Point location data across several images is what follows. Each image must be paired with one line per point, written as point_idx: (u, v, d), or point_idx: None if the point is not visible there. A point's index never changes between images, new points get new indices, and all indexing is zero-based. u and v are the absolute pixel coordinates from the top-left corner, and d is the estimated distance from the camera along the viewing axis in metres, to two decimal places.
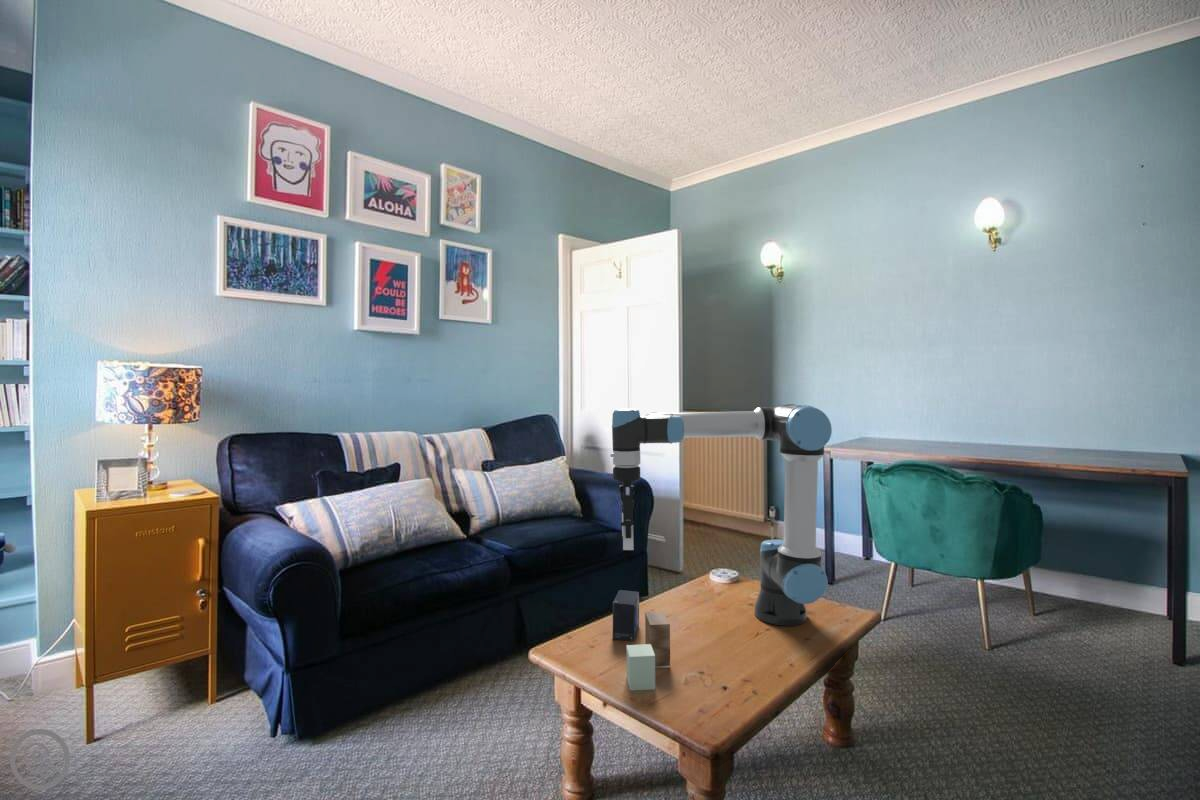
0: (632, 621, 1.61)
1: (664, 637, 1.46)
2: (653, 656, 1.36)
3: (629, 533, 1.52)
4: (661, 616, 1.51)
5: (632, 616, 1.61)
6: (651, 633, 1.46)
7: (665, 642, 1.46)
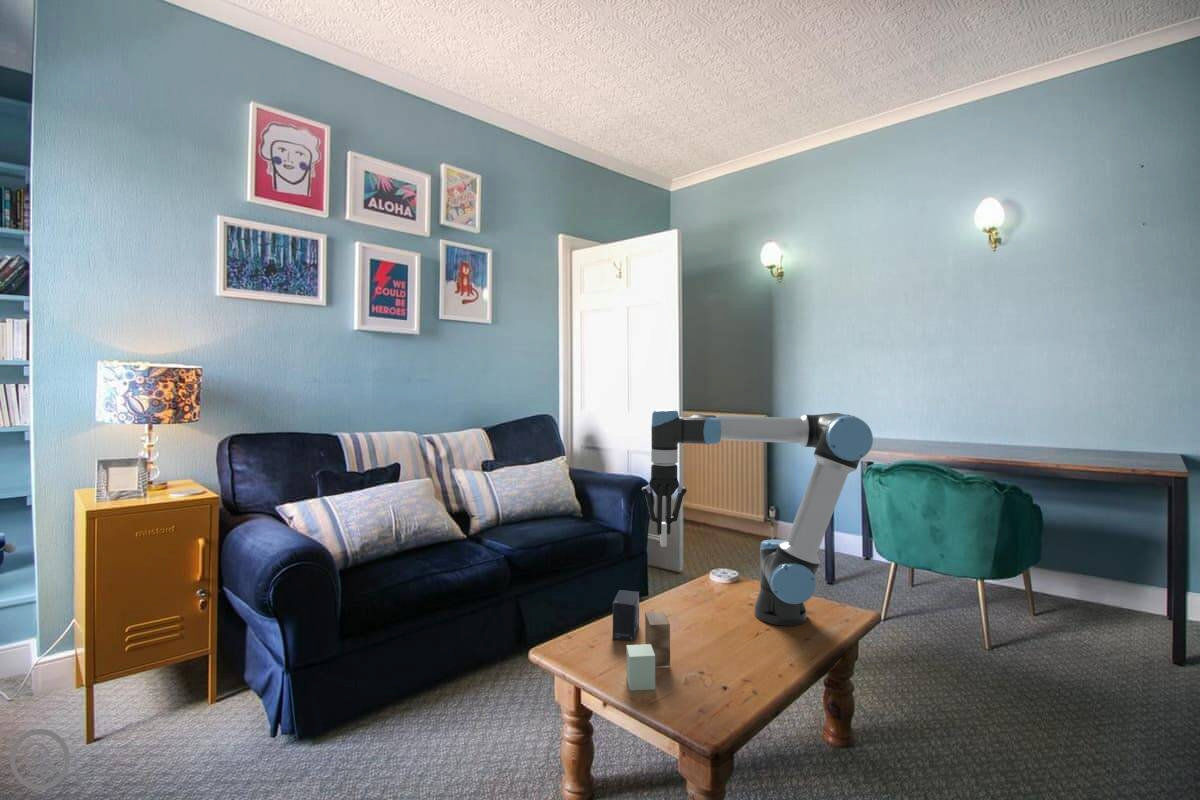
0: (632, 621, 1.61)
1: (664, 637, 1.46)
2: (653, 656, 1.36)
3: (657, 529, 1.67)
4: (661, 616, 1.51)
5: (632, 616, 1.61)
6: (651, 633, 1.46)
7: (665, 642, 1.46)
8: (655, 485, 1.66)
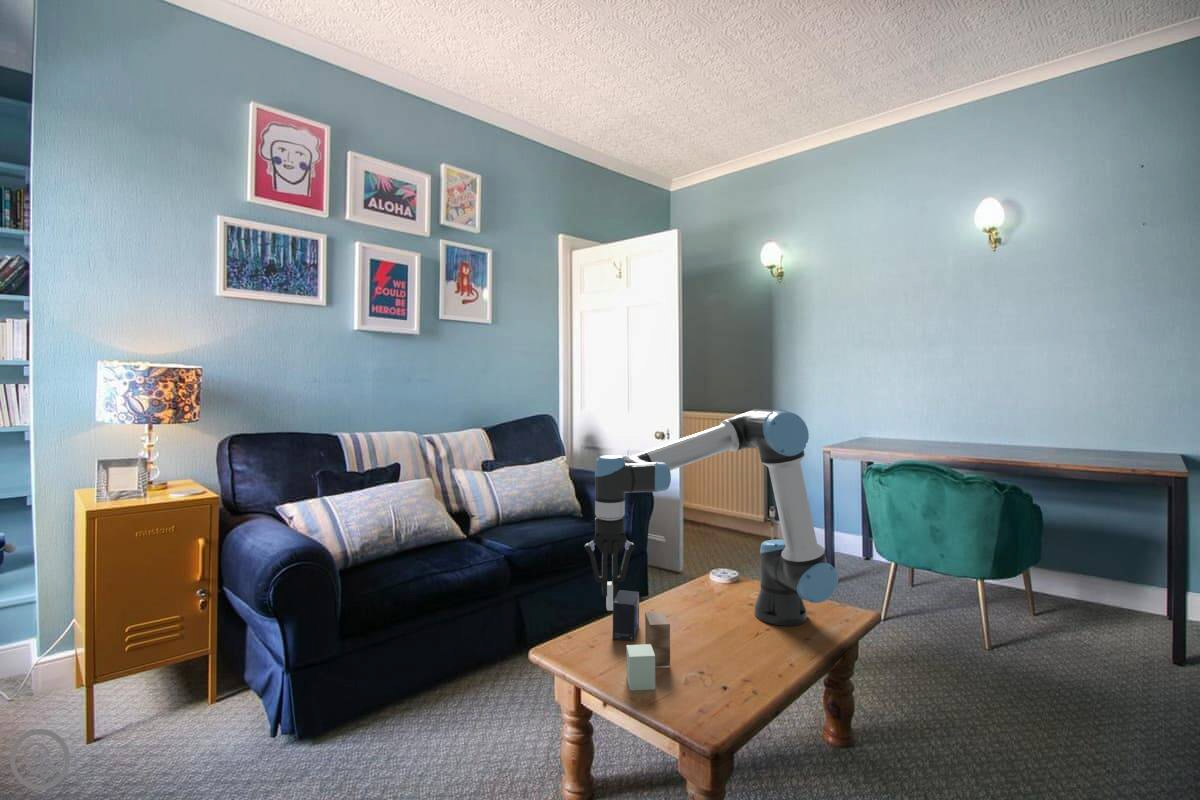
0: (632, 621, 1.61)
1: (664, 637, 1.46)
2: (653, 656, 1.36)
3: None
4: (661, 616, 1.51)
5: (632, 616, 1.61)
6: (651, 633, 1.46)
7: (665, 642, 1.46)
8: (599, 541, 1.47)
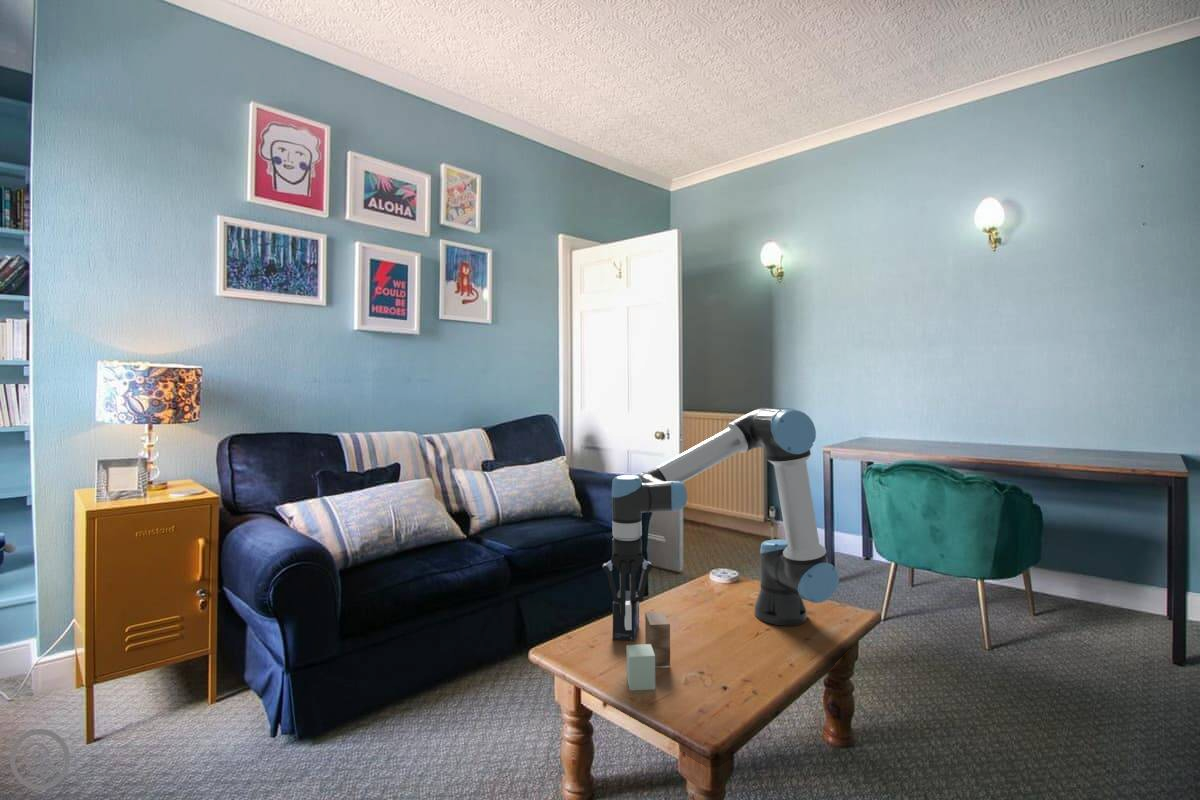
0: (632, 621, 1.61)
1: (664, 637, 1.46)
2: (653, 656, 1.36)
3: (620, 610, 1.49)
4: (661, 616, 1.51)
5: (632, 616, 1.61)
6: (651, 633, 1.46)
7: (665, 642, 1.46)
8: (617, 562, 1.48)
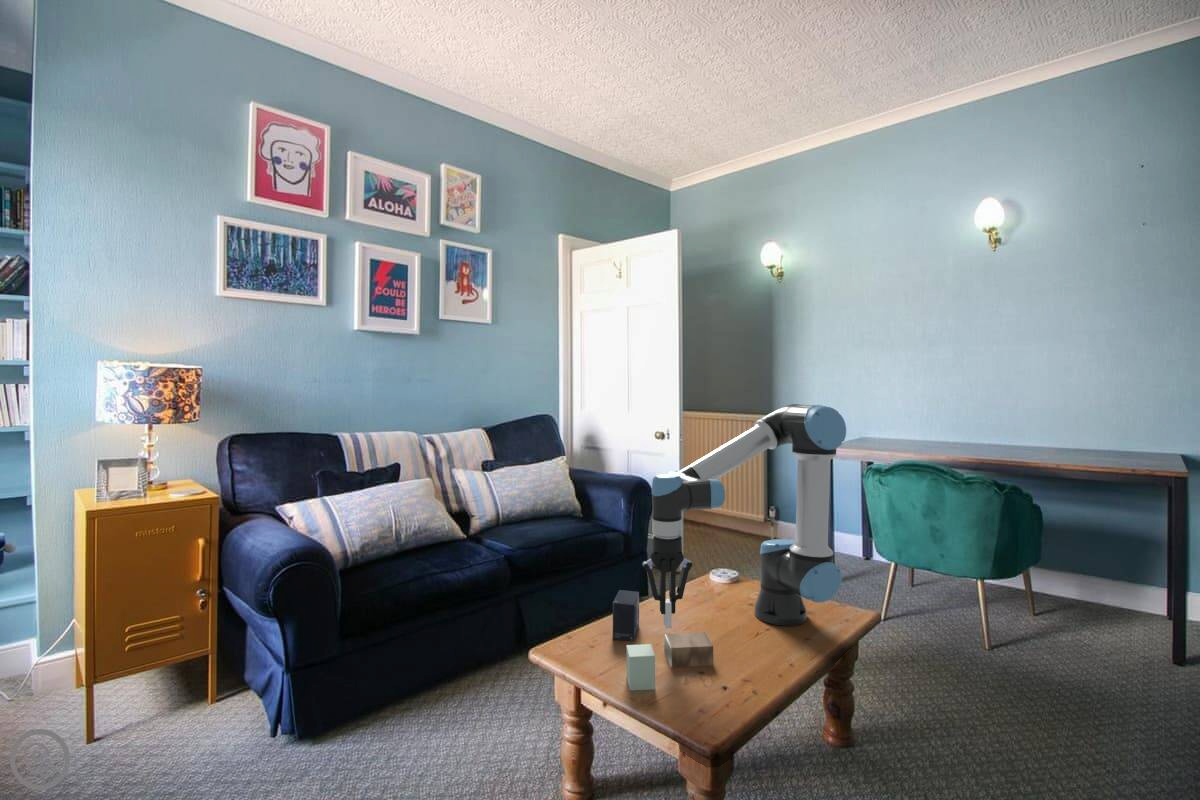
0: (632, 621, 1.61)
1: (700, 660, 1.47)
2: (653, 656, 1.36)
3: (660, 608, 1.50)
4: None
5: (632, 616, 1.61)
6: (704, 647, 1.47)
7: (695, 661, 1.47)
8: (657, 560, 1.48)
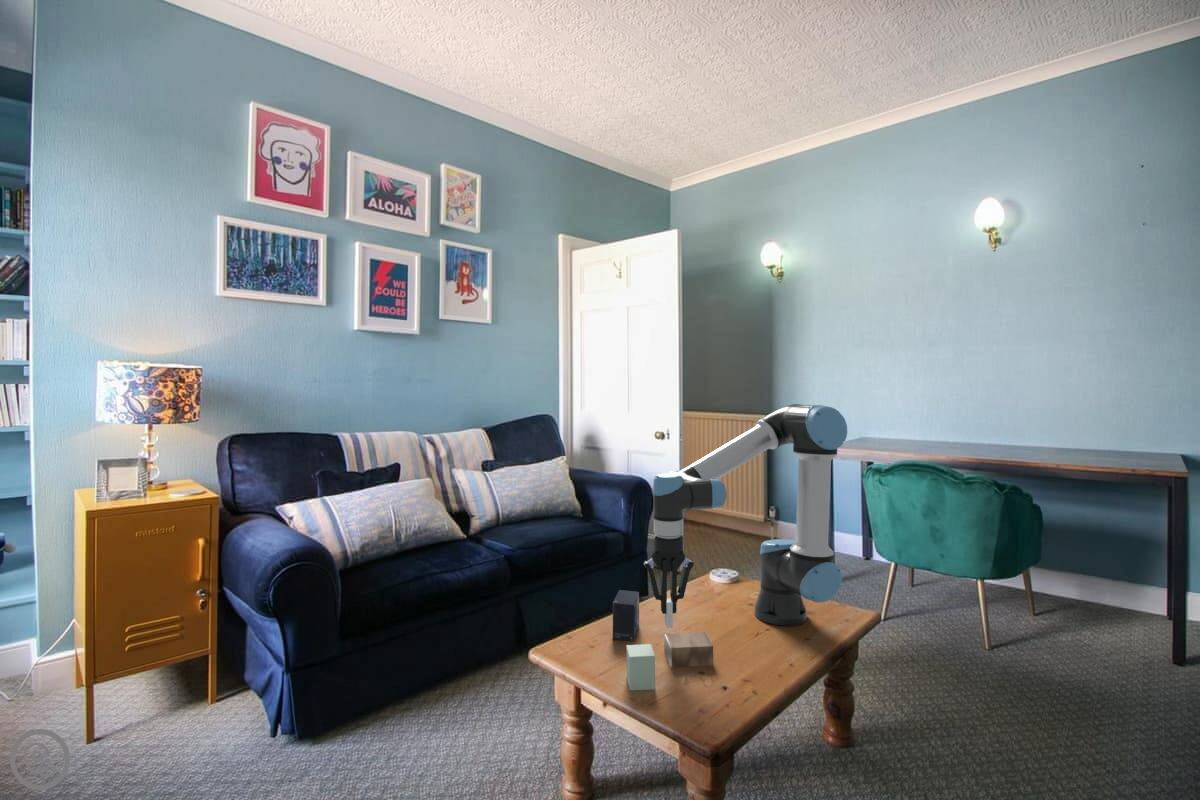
0: (632, 621, 1.61)
1: (700, 660, 1.47)
2: (653, 656, 1.36)
3: (661, 608, 1.50)
4: None
5: (632, 616, 1.61)
6: (704, 647, 1.47)
7: (695, 661, 1.47)
8: (659, 559, 1.48)
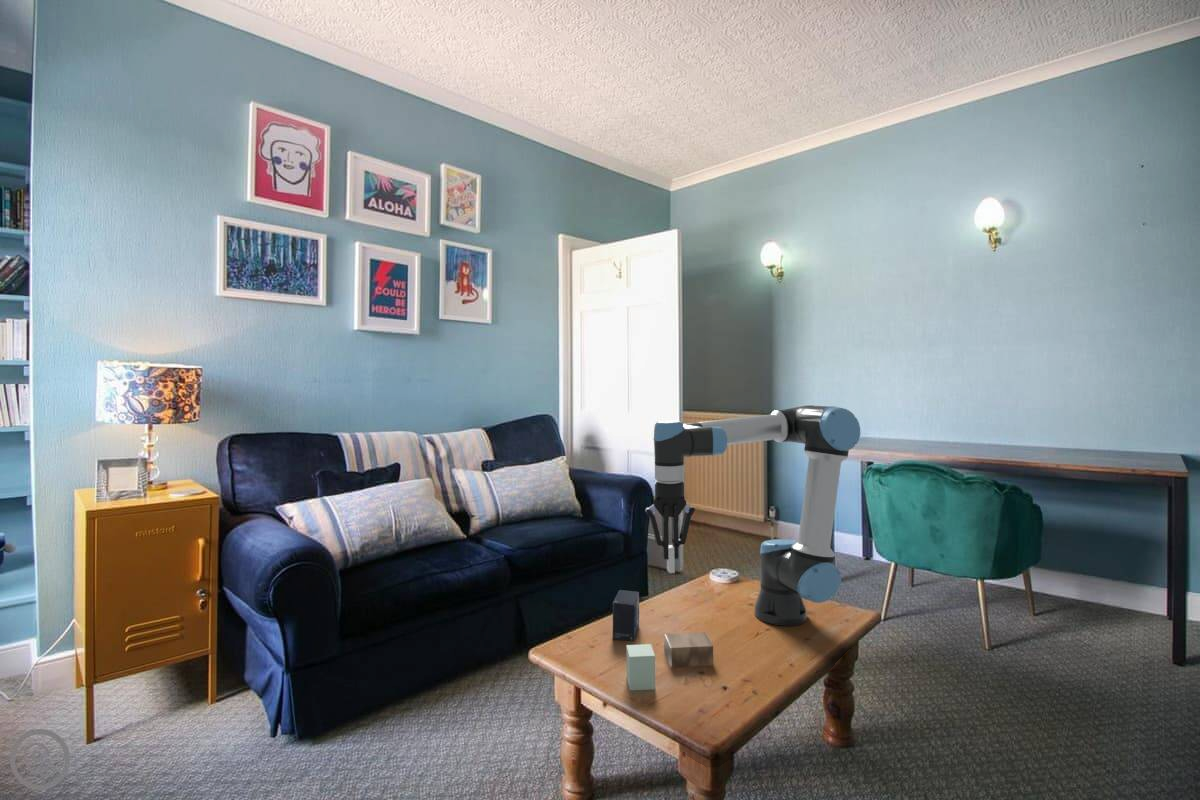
0: (632, 621, 1.61)
1: (700, 660, 1.47)
2: (653, 656, 1.36)
3: (663, 554, 1.50)
4: None
5: (632, 616, 1.61)
6: (704, 647, 1.47)
7: (694, 661, 1.47)
8: (660, 505, 1.49)
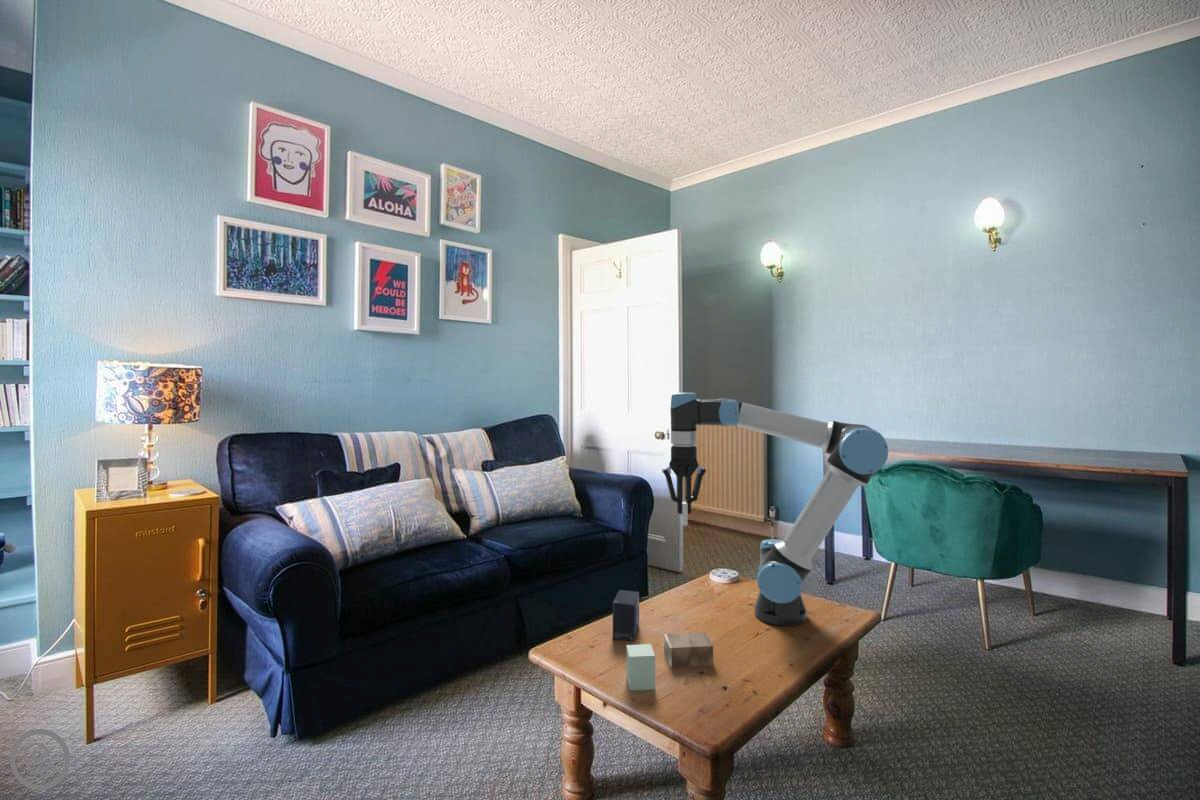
0: (632, 621, 1.61)
1: (700, 660, 1.47)
2: (653, 656, 1.36)
3: (678, 509, 1.71)
4: None
5: (632, 616, 1.61)
6: (704, 647, 1.47)
7: (694, 661, 1.47)
8: (675, 466, 1.70)
